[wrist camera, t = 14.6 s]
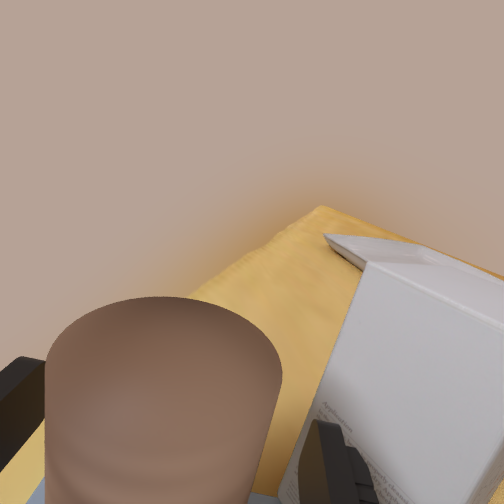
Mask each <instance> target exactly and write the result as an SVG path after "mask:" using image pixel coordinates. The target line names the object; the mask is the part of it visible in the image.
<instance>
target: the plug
mask: <svg viewBox="0 0 504 504" xmlns="http://www.w3.org/2000/svg"><path fill="white" fill-rule="evenodd" d="M281 384H282V367H281V362H280V359H279V356H278V353H277V351H276V349H275V348H274V346H273V344H272V343H271V342H270V340H269V339H268V338H267V337H266V336H265V334H264V333H263V332H262V331H261V330H259V329H258V328H257V327H256V326H255V325H253V324H252V323H251V322H249V321H248V320H246V319H245V318H243V317H241V316H240V315H238V314H236V313H234V312H232V311H230V310H227V309H225V308H222V307H220V306H217V305H213V304H210V303H207V302H203V301H199V300H193V299H187V298H178V297H144V298H136V299H129V300H125V301H120V302H116V303H113V304H110V305H106V306H104V307H101V308H98V309H96V310H94V311H92V312H90V313H88V314H86V315H84V316H82V317H81V318H79V319H77V320H76V321H75V322H73V323H72V324H71V325H69V326H68V327H67V328H66V329H65V330H64V331H63V332H62V333H61V334H60V335H59V336H58V338H57V339H56V340H55V342H54V343H53V345H52V347H51V349H50V351H49V353H48V355H47V359H46V363H45V504H247V503H248V499H249V496H250V493H251V489H252V486H253V482H254V479H255V475H256V472H257V468H258V465H259V461H260V458H261V454H262V451H263V448H264V444H265V441H266V437H267V434H268V430H269V427H270V423H271V420H272V416H273V413H274V409H275V406H276V402H277V399H278V396H279V392H280V388H281Z"/></svg>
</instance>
